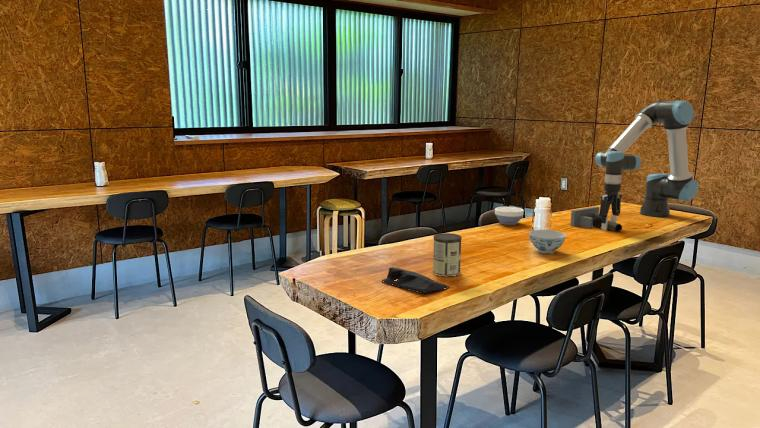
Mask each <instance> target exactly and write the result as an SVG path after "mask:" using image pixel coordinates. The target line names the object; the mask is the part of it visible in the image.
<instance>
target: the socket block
mask: <svg viewBox="0 0 760 428" xmlns="http://www.w3.org/2000/svg"><path fill="white" fill-rule="evenodd" d="M599 212H600V206H591V207H583V208H578V209H572V210H571V213H570V214H571V215H570V226H571V227H583V228H587V229H592V228H593V218H591V217H592V216H599V217H601V218H602V216H600V215H599Z"/></svg>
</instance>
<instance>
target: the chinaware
mask: <svg viewBox="0 0 760 428" xmlns="http://www.w3.org/2000/svg"><path fill="white" fill-rule="evenodd" d="M566 236H567V235H566V233H564V232H562V231H557V230H552V229H534V230H531V231H529V232H528V237H529V240H530V242H531V244H532V245H533V247H535V249H537V251H538V252H539V253H542V254H546V253H550V254H554V253H555V251H556V250H558V249H560V248H561V247H562V246H563V244H564V243H565V241H566V240H565V239H566Z"/></svg>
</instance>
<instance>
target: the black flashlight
mask: <svg viewBox="0 0 760 428" xmlns="http://www.w3.org/2000/svg"><path fill="white" fill-rule="evenodd" d="M591 218H593V225H592V228H597V229H601V226H602V218H601V217H599V216H592V217H591ZM607 230H610V231H611V232H612V231H613V232H616V233H620V232H622V230H623V225H622V224H620V223H618V222H616V223H615V222H611V220H608V224H607Z"/></svg>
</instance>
